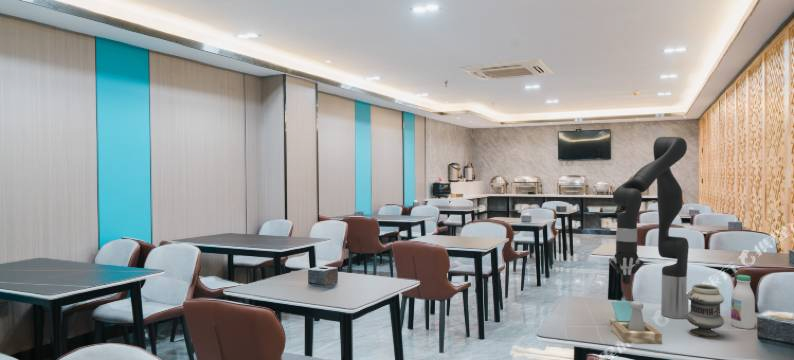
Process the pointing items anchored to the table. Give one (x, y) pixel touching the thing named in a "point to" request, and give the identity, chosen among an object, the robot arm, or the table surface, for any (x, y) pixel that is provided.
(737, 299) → the milk bottle
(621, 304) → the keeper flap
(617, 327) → the socket block
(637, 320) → the salt shaker
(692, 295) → the apothecary jar
